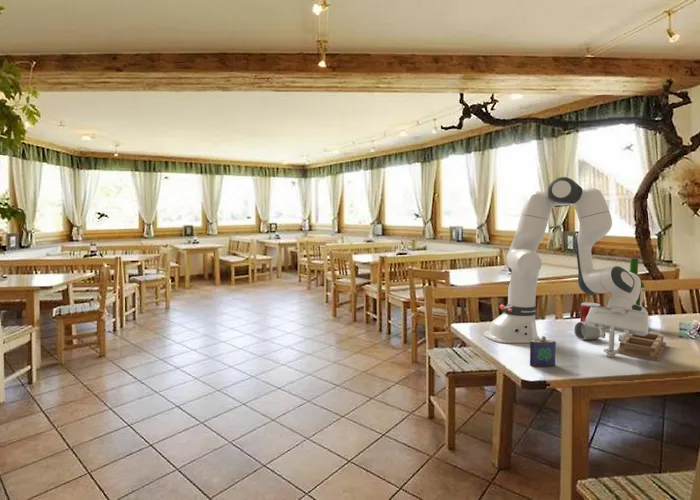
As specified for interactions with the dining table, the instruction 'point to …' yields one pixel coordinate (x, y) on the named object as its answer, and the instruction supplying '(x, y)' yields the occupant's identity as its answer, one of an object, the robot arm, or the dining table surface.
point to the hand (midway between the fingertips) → (611, 339)
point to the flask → (542, 352)
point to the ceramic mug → (586, 331)
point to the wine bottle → (635, 270)
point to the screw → (611, 343)
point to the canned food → (586, 309)
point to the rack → (643, 346)
